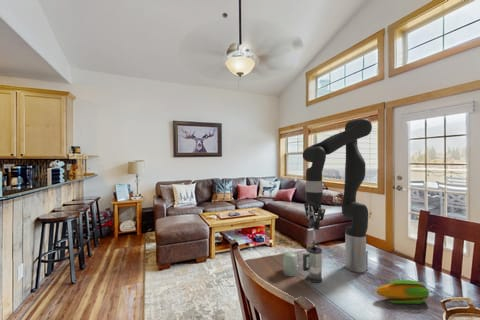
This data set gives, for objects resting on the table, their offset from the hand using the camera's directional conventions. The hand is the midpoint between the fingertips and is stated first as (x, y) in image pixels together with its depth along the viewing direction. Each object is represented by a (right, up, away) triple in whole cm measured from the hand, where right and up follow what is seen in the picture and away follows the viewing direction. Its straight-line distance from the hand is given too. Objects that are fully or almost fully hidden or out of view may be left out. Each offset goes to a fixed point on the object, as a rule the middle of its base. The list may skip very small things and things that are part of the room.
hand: (314, 227), depth 101 cm
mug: (-10, -24, +6) cm, 26 cm away
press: (0, -24, 0) cm, 24 cm away
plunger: (0, -9, 0) cm, 9 cm away
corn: (+29, -24, -15) cm, 41 cm away
